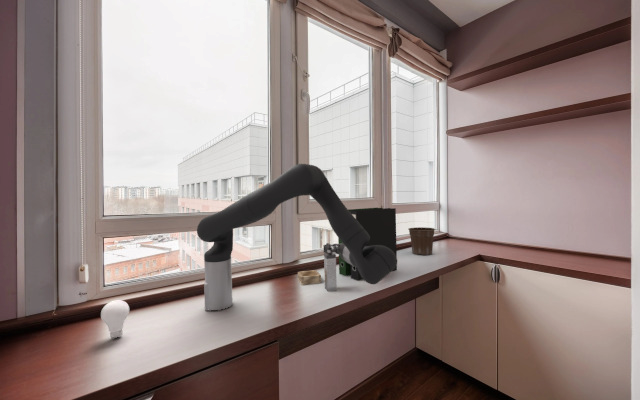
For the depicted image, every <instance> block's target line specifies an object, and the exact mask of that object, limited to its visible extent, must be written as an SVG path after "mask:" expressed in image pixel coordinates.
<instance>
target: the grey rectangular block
mask: <svg viewBox="0 0 640 400" xmlns="http://www.w3.org/2000/svg"><path fill="white" fill-rule="evenodd" d="M323 262H324V263H323V266H324V268H323V269H324V289H325V290H326V292H334V291H337V290H338V287H337V285H338V284H337V283H338V281H337V254H333V253H332V255H328V254H326V253H324V252H323Z"/></svg>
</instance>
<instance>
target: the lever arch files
mask: <svg viewBox="0 0 640 400" xmlns="http://www.w3.org/2000/svg"><path fill="white" fill-rule="evenodd" d="M348 210H349V212H350V213H351V214H352V215H353V216H354V218H355V219H356V220H357V221H358V222H359V223H360V225H361V226H362V227H363V228H364V230H366V232H367V233H368V234H369V236H370V240H369V242H368V243H367V244H366V246H373V245H382V246H386V247H388V248H389V249H391V250H392V251H393V252H394V253H395V255H396V257H397V254H398V253H397V212H396V211H397V208H396V207H394V208H392V207H388V208H387V207H386V208H385V207H384V208H383V207H368V208H367V207H366V208H365V207H364V208H355V209H354V208H353V209H348ZM337 240H338V243H337V244H341V243H343V242H342V241H341V240H340V239H339V238H338V237H337ZM397 258H398V257H397ZM397 270H398V265H397V266H396V267H395V269H394V270H392V271H391V272H390V273H392V272H395V271H397ZM338 272H339V275H341V276H344V277H348V276H350V279H352V280H355V281H357V282H360V281H364V279H363V278H362V277H361V275H360V273H359V271H358V268H357V267H355V266H352V265H350V264H349V263H347V262H346V261H344V260H343V259H342V258H341V257H340V255H339V254H338Z"/></svg>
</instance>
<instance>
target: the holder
mask: <svg viewBox="0 0 640 400" xmlns="http://www.w3.org/2000/svg"><path fill="white" fill-rule="evenodd" d="M297 280H298V281H299V283H300V285H301V286H306V285H314V284H321V283H322V274H320V273H319V271H317V270H316V269H315V270H314V269H313V270H303V271H297Z"/></svg>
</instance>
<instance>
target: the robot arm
mask: <svg viewBox="0 0 640 400" xmlns="http://www.w3.org/2000/svg"><path fill="white" fill-rule="evenodd" d="M301 196H310V197H311V198H312V199H313V200H315V201H316V202H317V203H318V204H319V205H320V208H321V209H322V210H323V211H324V213H325V216H326V217H327V220H328V223H329V225H330V227H331V228H332V230H333V232H334V233H335V235H336V236H337V239H338V238H339V239H340V240H341V241H342V242H343V243H341V244H338V243H329V242H327V243H326V244H324V245H323V254H324V253H326V254H328V255H332V253H333V254H336V255H338V256H339V255H340V257H341V258H342V259H343V260H344V261H346V262H347V263H349V264H350V265H352V266H355V267H357V268H358V271H359V273H360V275H361V277H362V278H363V279H364V280H363V281H364V282H366V283H367V284H370V285H376V284H378V283H380V281H382V280H383V279H384V278H386V276H388V275H389V274H390V273H392V272H393V271H392V270H394V269H395V267H396V266H397V267H398V257H396V255H395V253H394V252H393V251H392V250H391V249H389V248H388V247H386V246H382V245H373V246H366V244H367V243H368V242H369V240H370V236H369V234H368V233H367V232H366V230H364V228H363V227H362V226H361V225H360V223H359V222H358V221H357V220H356V219H355V218H354V216H353V215H352V214H351V213H350V212H349V209H348V208H347V207H346V205H345V204H344V203H343V201H342V200H341V199H340V198H339V196H338V194H337V193H336V191H335V190H334V188H333V187H332V185H331V184H330V181H329V180H328V178H327V176H326V175H325V173H324V171H323V170H322V169H321V168H320V167H318V166H317V165H314V164H307V163H299V164H298V163H297V164H295V165H293V166H291V167H290V168H288V169H287V170H286V171H285V172H283V173H281V175H279V176H278V177H276V178H275V179H273V180H272V181H271V182H269V183H267V184H265V185H263V186H261V187H259V188H258V189H256V190H254V191H252V192H250V193H248V194H247V195H245V196H243V197H242V198H240V199H238V200H236V201H234V203H231V204H230V205H228V206H227V207H225V208H224V209H222V210H220V211H218V212H215V213H213V214H211V215H209V216H205V217H204V218H201V220H200V221H199V223H198V225H197V228H196V235H197V236H198V238H199V239H200V240H201V241H203V242H205V243H213V245H212V246H211V248H209V249H208V250H207V251H205V252H204V255H203V260H204V261H203V262H204V265H203V266H204V284H203V287H204V288H203V290H204V292H203V293H204V294H203V295H204V311H211V310H218V311H222V310H221V309H223V310H226V309H229V308H231V307H232V306H233V274H232V252H233V249H234V248H233V247H234V229H238V228H242V227H246V226H248V225H251V224H255V223H257V222H259V221H260V220H263V219H265V218H266V217H268V216H270V215H271V214H272V213H273V212H274V211H275V210H276V209H277V208H278V206H280V205H281V204H282V203H284V202H287V201H289V200H291V199H294V198H296V197H301ZM391 271H392V272H391ZM231 305H232V306H231ZM228 307H229V308H228ZM225 308H226V309H225ZM208 309H209V310H208Z"/></svg>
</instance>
